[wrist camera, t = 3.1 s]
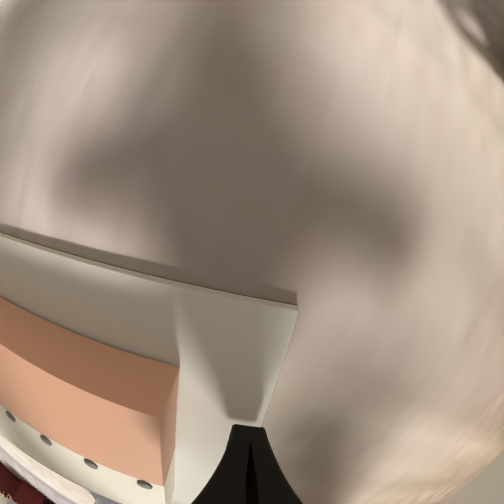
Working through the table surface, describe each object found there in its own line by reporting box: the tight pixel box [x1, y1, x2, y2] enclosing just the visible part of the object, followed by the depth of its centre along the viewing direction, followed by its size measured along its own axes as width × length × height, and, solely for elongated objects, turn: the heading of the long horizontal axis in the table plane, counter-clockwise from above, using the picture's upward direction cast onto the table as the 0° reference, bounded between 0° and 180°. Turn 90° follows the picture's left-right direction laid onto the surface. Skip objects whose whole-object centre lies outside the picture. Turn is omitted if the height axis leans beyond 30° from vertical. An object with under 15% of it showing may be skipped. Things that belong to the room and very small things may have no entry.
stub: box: [0, 297, 180, 486], centre depth 9 cm, size 6×14×3 cm, turn 78°
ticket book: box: [0, 404, 176, 504], centre depth 10 cm, size 6×14×3 cm, turn 78°
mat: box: [0, 232, 299, 504], centre depth 12 cm, size 19×24×1 cm
